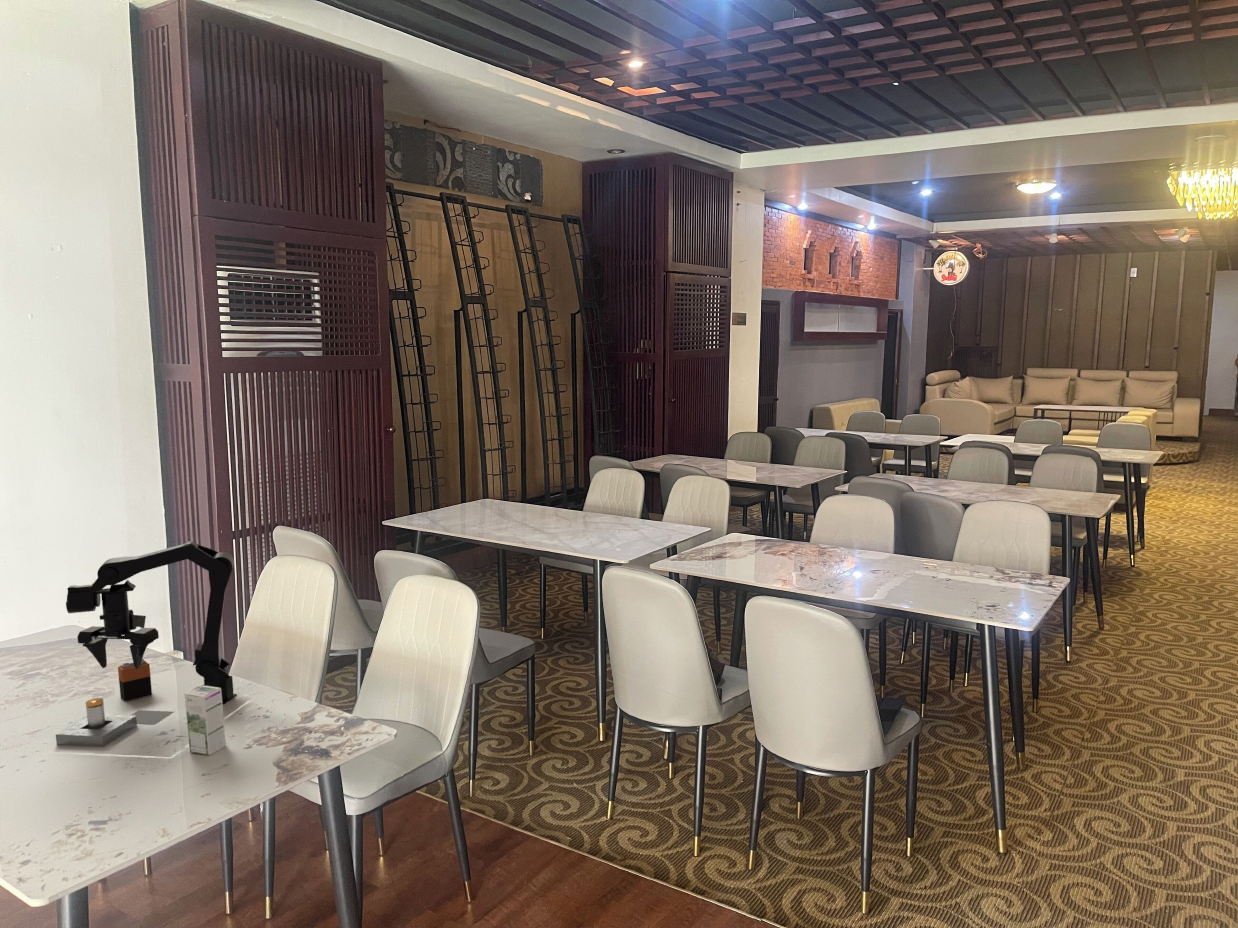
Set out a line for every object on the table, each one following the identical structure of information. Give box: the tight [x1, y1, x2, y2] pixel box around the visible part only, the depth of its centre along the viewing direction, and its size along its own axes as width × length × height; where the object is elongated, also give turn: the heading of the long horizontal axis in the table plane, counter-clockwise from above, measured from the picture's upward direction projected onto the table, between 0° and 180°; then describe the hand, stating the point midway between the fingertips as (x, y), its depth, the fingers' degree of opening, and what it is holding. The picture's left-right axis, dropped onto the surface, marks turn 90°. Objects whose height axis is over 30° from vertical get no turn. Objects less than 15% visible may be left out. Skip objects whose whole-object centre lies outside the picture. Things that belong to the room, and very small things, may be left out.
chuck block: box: [55, 713, 138, 748], centre depth 217 cm, size 12×12×3 cm
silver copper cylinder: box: [85, 697, 106, 729], centre depth 216 cm, size 4×4×9 cm
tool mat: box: [130, 709, 174, 726], centre depth 227 cm, size 10×8×1 cm
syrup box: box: [184, 684, 227, 756], centre depth 208 cm, size 6×6×14 cm
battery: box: [117, 658, 153, 702], centre depth 241 cm, size 4×7×10 cm, turn 133°
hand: (121, 667), depth 230 cm, fingers open, 9 cm apart
